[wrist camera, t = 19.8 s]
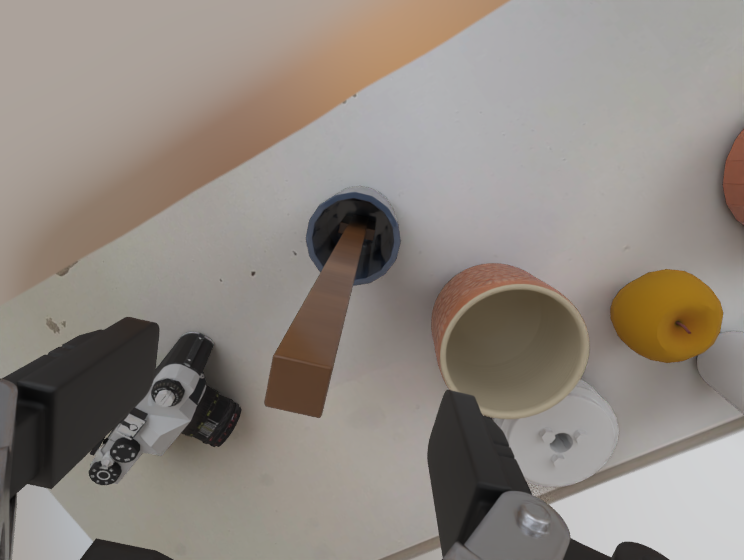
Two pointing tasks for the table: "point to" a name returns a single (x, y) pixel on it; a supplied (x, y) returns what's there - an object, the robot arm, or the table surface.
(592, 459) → the white thick round disc
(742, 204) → the bowl
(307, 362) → the stick
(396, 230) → the crock
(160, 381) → the camera
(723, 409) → the table surface
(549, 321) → the planter
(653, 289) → the apple
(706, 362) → the cup
